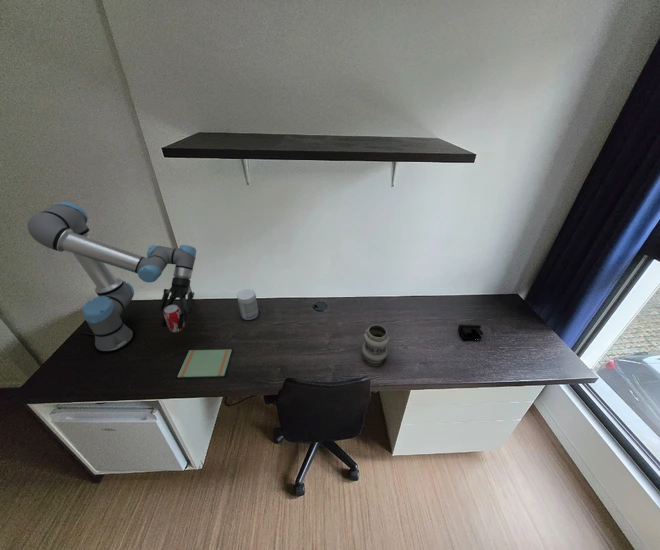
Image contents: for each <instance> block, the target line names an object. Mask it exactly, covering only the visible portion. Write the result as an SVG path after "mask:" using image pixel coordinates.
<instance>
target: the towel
mask: <svg viewBox="0 0 660 550" xmlns="http://www.w3.org/2000/svg"><path fill="white" fill-rule="evenodd" d="M232 351H233V349H230V348H229V349H227V348H226V349H189V350H188V353H187V354H186V356H185V358H184V360H183V363H182V366H181V368H180V370H179V372H178V375H177V377H176V378H178V379H181V378H215V377H216V378H217V377H225V376H226V372H227V368H228V366H229V363H230V358H231V355H232Z"/></svg>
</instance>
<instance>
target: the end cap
mask: <svg viewBox="0 0 660 550" xmlns="http://www.w3.org/2000/svg"><path fill="white" fill-rule="evenodd" d="M481 328H482V326H481V324H470V323H469V324H465V323H464V324H462V323H461V324H459V325H458V327H457V332H458V333H457V334H458V335H459V337H460V339H461V341H463V342H480V341H481V339H482V338H483V337H482V336H483V335H484V332H483V331H482V329H481ZM475 339H476V340H475ZM477 339H480V340H477Z"/></svg>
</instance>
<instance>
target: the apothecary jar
mask: <svg viewBox="0 0 660 550" xmlns="http://www.w3.org/2000/svg"><path fill="white" fill-rule="evenodd" d="M363 340H364V342H363V343H362V345H361V352H362V354H363V355H362V358H363V359H362V360H364V361H365V362H366V364H367V365H369V366H372V367H378V366H381V365H382V364H383V363H384V361H385V358H386V357H387V356H388V353H389V348H388V344H389V343H390V342H391V337H390V333H389V332H388V331H387V328H386V327H385V326H383V325H381V324H372V325H370V326H369V327H368V328H367V329H365V331H364V332H363Z"/></svg>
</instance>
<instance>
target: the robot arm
mask: <svg viewBox="0 0 660 550" xmlns="http://www.w3.org/2000/svg"><path fill="white" fill-rule="evenodd" d="M88 220H89V217H88V214H87V212H86V211H85V210H84V209H83V208H82V207H81V206H79V205H77V204H74V203H73V202H68V201H61V202H58V203H55V204H52V205H50V206H49V207H47V208H45V209H44V210H42V211H40V212H37V213H35V214H34V215H32V216H31V217H30V218H29V220H28V221H27V230H28V234H29V235H30V236H31V238H32V239H34V240H35V241H36V242H37V243H39V244H40V245H41V246H43V247H46V248H48V249H51V250H53V251H57V252H61V253H62V252H68V253H72V254H73V256H74V257H75V259H76V261H78V263H79V264H80V266H81V267H82V268H83V270H84V272H86V274H87V275H88V277H89V278H90V280H91V281H92V283H93V284H94V285H95V288H94V292H95V293H96V295H97V296H96V297H94V298H92V299H90V300H88V301H87V302H86V303H84V305H83V307H82V309H81V312H82V315H83V318H84V321H86V323H87V324H88V326H89V328H90V330H91V332H92V333H91V332H86V331H82V332H81V333H82V334H86V335H89V336H94V345H95V348H96V349H97V351H98V352H101V353H103V354H105V353H106V354H107V353H113V352H116V351H120V350H121V349H124V348H125V347H126V346H128V345H129V344H130V343H131V342H132V341H133V339H134V332H133V330H132V329H131V328H129V326H127V325H126V324H125V323H124V322H123V320H122V318H121V315H122V313H123V312H124V311H125V309H127V307H128V305H129V304H130V303H131V302H132V300H133V299H134V296H135V290H134V287H133V286H132V285H131V284H130V283H129V282H127V281H125V280H123V279H121V278H119V277H116V276H115V274H114V272H113V270H111V268H110V266H113V267H115V268H119V269H122V270H125V271H128V272H131V273H134V274H137V276H138V278H139V279H140V280H142V281H143V282H145V283H154V282H157V280H158V279H159V278H160V277H161V276H162V274H163V272H164V271H165V269H166V268H167V266H168V265H174V266H175V267H174V271H173V277H172V280H171V287H170V288H164V289H163V294H162V298H161V301H160V303H159V306H158V311H160V312H161V316H160V319H161V323H160V327H161V328H167V323H166V320H165V317H164V309H165V308H166V307H167V306H169V305H173V303H174V302H175V300H176V299H179V302H180V309H181V312H182V313H181V314H180V317H179V322H178V327H177V329H182V327H183V322H186V321H187V317H188V315H189V314H192V313H193V302H194V301H193V300H194V296H195V291H190V289H189V288H190V286H191V279H192V275H193V270H194V265H195V261H196V257H197V249H196V248H195V247H194V246H192V245H188V244H181V245H179V247H178V248H174V247H168V246H163V245H156V244H155V245H154V244H153V245H150V246H149V247H148V249H147V252H146V256H143V255H140V254H138V253H137V254H136V253H134V252H132V251H131V252H130V251H128V250H125V249H123V248H119V247H116V246H113V245H111V244H107V243H104V242H101V241H99V240H96V239H93V238H91V237H90V235H89V234H90V231H91V230H90V228H89V226H88V225H87V223H88ZM109 265H110V266H109ZM182 330H183V329H182Z"/></svg>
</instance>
